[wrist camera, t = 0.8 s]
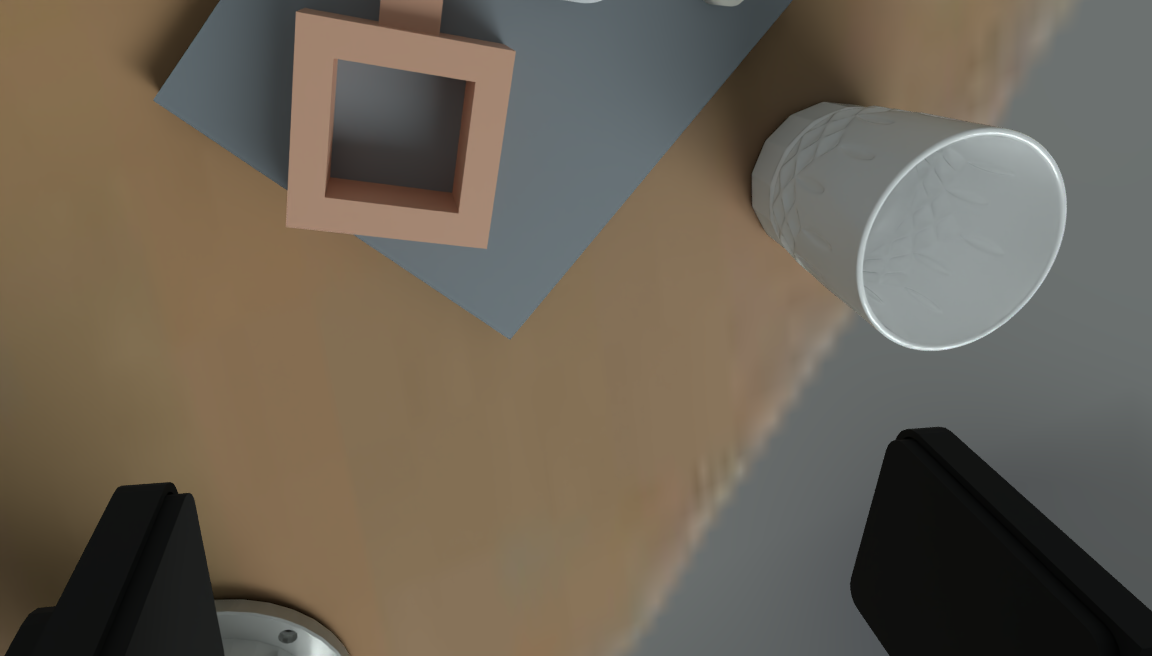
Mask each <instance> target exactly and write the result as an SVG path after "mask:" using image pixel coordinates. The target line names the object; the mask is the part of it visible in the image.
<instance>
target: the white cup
mask: <svg viewBox="0 0 1152 656" xmlns="http://www.w3.org/2000/svg"><path fill="white" fill-rule="evenodd" d="M752 207H753V209H754V211H755V213H756V215H757V217H758V219H759V221H760V223H761V225H762V226H763V228H764V230H765V232H766V234H767V235H769V236H770V237H771V238H772V239H774V240H775V241H776V242H777V243H779V244H780V245H781V246H782V247H784V248H785V249H786V250H787V251H788V252H789V253H790V255H791V256H792V257H793V258H794V259H795V260H796V261H797V262H798V263H799V264H800V265H801V266H802V267H803V268H804V269H806V270H807V271H808V272H809V273H810V274H812V275H813V276H814V277H815V278H816V279H817V280H818V281H819V282H820V283H821V284H822V285H823V286H825V287H826V288H827V289H828V290H829V291H831V292H832V293H833V294H834V295H835V296H837V297H838V298H839V299H840V300H842V301H843V302H844V303H845V304H846V305H848V306H849V307H850V308H851V309H853V310H854V311H855V312H856V313H857V314H859V315H860V316H861V317H862V318H863V319H865V320H866V321H867V322H868V323H869V324H871V325H872V326H873V327H874V328H876V329H877V330H878V331H879V332H880V333H881V334H883V335H884V336H885V337H887V338H888V339H890V340H891V341H893V342H895V343H897V344H899V345H901V346H904V347H907V348H911V349H916V350H924V351H937V350H946V349H951V348H956V347H960V346H963V345H966V344H969V343H971V342H973V341H975V340H978V339H980V338H982V337H984V336H986V335H987V334H989V333H991V332H993V331H994V330H996V329H997V328H999V327H1000V326H1002V325H1003V324H1004V323H1006V322H1007V321H1008V320H1009V319H1010V318H1012V317H1013V316H1014V315H1015V314H1016V313H1017V312H1018V311H1019V310H1020V309H1021V308H1022V307H1023V306H1024V305H1025V304H1026V303H1027V302H1028V301H1029V300H1030V298H1031V297H1032V296H1033V295H1034V294H1035V292H1036V291H1037V290H1038V288H1039V287H1040V285H1041V284H1042V282H1043V281H1044V279H1045V277H1046V276H1047V274H1048V272H1049V271H1050V269H1051V267H1052V264H1053V263H1054V260H1055V258H1056V256H1057V253H1058V251H1059V248H1060V245H1061V242H1062V238H1063V234H1064V229H1065V224H1066V215H1067V199H1066V191H1065V185H1064V181H1063V178H1062V175H1061V172H1060V170H1059V168H1058V166H1057V164H1056V162H1055V160H1054V159H1053V157H1052V156H1051V155H1050V153H1049V152H1048V151H1047V150H1046V149H1045V148H1044V147H1043V146H1042V145H1041V144H1040V143H1038V142H1037V141H1036V140H1034V139H1033V138H1031V137H1029V136H1028V135H1025V134H1023V133H1020V132H1018V131H1015V130H1011V129H1006V128H1001V127H995V126H990V125H984V124H979V123H973V122H968V121H963V120H958V119H953V118H947V117H942V116H937V115H932V114H927V113H921V112H911V111H905V110H900V109H891V108H885V107H879V106H869V107H865V106H860V105H854V104H843V103H833V102H821V103H818V104H816V105H814V106H811V107H809V108H806V109H804V110H801V111H799V112H796V113H794V114H792V115H790V116H789V117H788V118H787V119H786V120H785V121H784V122H783V123H782V124H781V125H780V126H779V127H778V128H777V129H776V130H775V131H774V132H773V133H772V135H771V136H770V137H769V138H768V139H767V140H766V141H765V143H764V145H763V148H762V150H761V153H760V155H759V157H758V160H757V162H756V165H755V167H754V169H753V172H752Z"/></svg>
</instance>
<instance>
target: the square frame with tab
mask: <svg viewBox="0 0 1152 656" xmlns="http://www.w3.org/2000/svg"><path fill="white" fill-rule="evenodd" d="M442 6H443V0H381V2H380V14H379V21H374V20H369V19H363V18H358V17H352V16H347V15H341V14H336V13H330V12H325V11H319V10H314V9H308V8H303V9H301V10H299V11H296V22H295V43H294V65H293V86H292V108H291V129H290V151H289V172H288V194H287V216H286V227H291V228H300V229H309V230H319V231H328V232H337V233H346V234H355V235H364V236H373V237H382V238H391V239H401V240H410V241H419V242H428V243H437V244H446V245H455V246H464V247H474V248H483V249H487V245H488V238H489V231H490V225H491V218H492V211H493V204H494V197H495V191H496V184H497V177H498V170H499V163H500V156H501V150H502V143H503V136H504V129H505V122H506V116H507V109H508V102H509V95H510V88H511V81H512V75H513V68H514V61H515V54H516V51H515V50H513V49H511V48H510V47H508V46H506V45H505V44H501V43H495V42H490V41H484V40H479V39H473V38H468V37H462V36H457V35H451V34H446V33H440V24H441V15H442ZM338 59H340V60H346V61H352V62H358V63H364V64H370V65H376V66H382V67H388V68H394V69H400V70H406V71H412V72H418V73H424V74H430V75H436V76H442V77H448V78H454V79H460V80H466V87H465V95H464V103H463V111H462V119H461V127H460V135H459V143H458V151H457V159H456V167H455V175H454V182H453V190H452V193H450V192H442V191H434V190H426V189H418V188H411V187H403V186H395V185H387V184H379V183H371V182H364V181H356V180H348V179H340V178H332V177H330V171H331V156H332V141H333V126H334V110H335V95H336V80H337V65H338Z"/></svg>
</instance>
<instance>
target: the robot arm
mask: <svg viewBox="0 0 1152 656" xmlns="http://www.w3.org/2000/svg"><path fill="white" fill-rule="evenodd" d="M850 588H851V589H850V590H851V595H852V598H853V601H854V603H855V605H856V607H857V609H858V610H859V612H860V613H861V615H862V616H863V618H864V619H865V620H866V622H867V623H868V625H869V626H870V628H871V629H872V631H873V632H874V634H875V635H876V636H877V638H878V640H879V641H880V642H881V644H882V645H883V647H884V648H885V650H886V651H887V653H888V654H889V656H1152V611H1151V610H1150V609H1149V608H1147V607H1146V606H1145V605H1144V604H1143V603H1142V602H1141V601H1139V600H1138V599H1137V598H1136V597H1135V596H1134V595H1133V594H1132V593H1131V592H1130V591H1128V590H1127V589H1126V588H1125V587H1124V586H1123V585H1122V584H1121V583H1120V582H1118V581H1117V580H1116V579H1115V578H1114V577H1113V576H1112V575H1110V574H1109V573H1108V572H1107V571H1106V570H1105V569H1104V568H1103V567H1102V566H1101V565H1099V564H1098V563H1097V562H1096V561H1095V560H1094V559H1093V558H1091V556H1089V555H1088V554H1087V553H1086V552H1085V551H1084V550H1083V549H1082V548H1080V547H1079V546H1078V545H1077V544H1076V543H1075V542H1074V541H1073V540H1072V539H1070V538H1069V537H1068V536H1067V535H1066V534H1065V533H1064V532H1063V531H1062V530H1060V529H1059V528H1058V527H1057V526H1056V525H1055V524H1054V523H1053V522H1051V521H1050V520H1049V519H1048V518H1047V517H1046V516H1045V515H1044V514H1043V513H1041V512H1040V511H1039V510H1038V509H1037V508H1036V507H1035V506H1033V505H1032V504H1031V503H1030V502H1029V501H1028V500H1027V499H1026V498H1025V497H1023V496H1022V495H1021V494H1020V493H1019V492H1018V491H1017V490H1016V489H1015V488H1014V487H1012V486H1011V485H1010V484H1009V483H1008V482H1007V481H1006V480H1005V479H1003V478H1002V477H1001V476H1000V475H999V474H998V473H997V472H996V471H995V470H993V469H992V468H991V467H990V466H989V465H988V464H987V463H986V462H985V461H983V460H982V459H981V458H980V457H979V456H978V455H977V454H976V453H974V452H973V451H972V450H971V449H970V448H969V447H968V446H967V445H966V444H964V443H963V442H962V441H961V440H960V439H959V438H958V437H957V436H956V435H954V434H953V433H952V432H951V431H949V430H948V429H946V428H943V427H932V428H931V427H930V428H918V429H906V430H903V431H901V432H900V433H899V435H898V436H897V438H896V440H894V441H892V442H891V443H890V444H889V445H888V447H887V449H886V453H885V456H884V460H883V464H882V467H881V471H880V475H879V478H878V482H877V486H876V489H875V493H874V496H873V500H872V504H871V507H870V511H869V515H868V518H867V522H866V526H865V529H864V533H863V537H862V540H861V544H860V548H859V551H858V555H857V559H856V562H855V566H854V570H853V573H852V577H851V582H850ZM5 656H350V655H349V654H348V652H347V650H346V648H345V646H344V645H343V644H342V643H341V642H340V641H339V640H338V638H337V637H336V636H335V635H334V634H333V633H332V632H331V631H330V630H328V629H327V628H325V627H324V626H323V625H321V624H320V623H319V622H317V621H316V620H314V619H312V618H310V617H308V616H306V615H304V614H302V613H300V612H298V611H295V610H293V609H290V608H286V607H283V606H279V605H276V604H272V603H267V602H260V601H252V600H244V599H238V600H214V597H213V592H212V587H211V582H210V577H209V572H208V566H207V561H206V556H205V551H204V546H203V541H202V536H201V531H200V526H199V521H198V515H197V510H196V505H195V501H194V498H193V496H192V494H190V493H183V494H178V492H177V489H176V487H175V485H174V484H173V483H171V482H167V483H153V484H139V485H126V486H120V487H118V488H117V489H116V491H115V492H114V494H113V496H112V498H111V499H110V501H109V503H108V505H107V507H106V509H105V511H104V513H103V515H102V517H101V519H100V521H99V523H98V525H97V527H96V529H95V531H94V533H93V535H92V537H91V539H90V540H89V542H88V544H87V546H86V548H85V550H84V552H83V554H82V556H81V558H80V560H79V562H78V564H77V566H76V568H75V570H74V572H73V574H72V576H71V578H70V580H69V581H68V583H67V585H66V587H65V589H64V591H63V593H62V595H61V597H60V599H59V601H58V603H57V605H56V606H54V607H44V608H37V609H36V610H35V611H33V612H32V613H30V614H29V615H28V617H27V618H26V620H25V621H24V622H23V624H22V625H21V627H20V629H19V630H18V632H17V634H16V636H15V638H14V640H13V641H12V643H11V645H10V647H9V649H8V650H7V652H6V654H5Z"/></svg>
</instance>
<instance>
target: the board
mask: <svg viewBox="0 0 1152 656" xmlns="http://www.w3.org/2000/svg"><path fill="white" fill-rule="evenodd" d="M791 1H792V0H443V6H442V15H441V24H440V33H446V34H451V35H457V36H462V37H468V38H473V39H479V40H484V41H490V42H495V43H501V44H505V45H506V46H508V47H510V48H511V49H513V50H515V51H516V54H515V61H514V68H513V75H512V81H511V88H510V95H509V102H508V109H507V116H506V122H505V129H504V136H503V143H502V150H501V156H500V163H499V170H498V177H497V184H496V191H495V197H494V204H493V211H492V218H491V225H490V231H489V238H488V245H487V249H483V248H474V247H464V246H455V245H446V244H437V243H428V242H419V241H410V240H401V239H391V238H382V237H373V236H364V235H355V234H353V235H355V236H356V237H358V238H359V239H361V240H362V241H364V242H365V243H367V244H368V245H370V246H371V247H373V248H374V249H376V250H377V251H379V252H380V253H382V254H383V255H385V256H386V257H388V258H389V259H391V260H392V261H394V262H395V263H397V264H398V265H399V266H401V267H402V268H404V269H405V270H407V271H408V272H410V273H411V274H413V275H414V276H416V277H417V278H419V279H420V280H422V281H423V282H425V283H426V284H428V285H429V286H431V287H432V288H434V289H435V290H437V291H438V292H440V293H441V294H443V295H444V296H446V297H447V298H449V299H450V300H452V301H453V302H455V303H456V304H458V305H459V306H461V307H462V308H464V309H465V310H467V311H468V312H470V313H471V314H473V315H474V316H476V317H477V318H479V319H480V320H482V321H483V322H485V323H486V324H487V325H489V326H490V327H492V328H493V329H495V330H496V331H498V332H499V333H501V334H502V335H504V336H505V337H507V338H508V339H511V338H512V337H513V335H514V334H515V333H516V332H517V331H518V329H519V328H520V327H521V326H522V325H523V323H524V322H525V321H526V320H527V319H528V317H529V316H530V315H531V314H532V313H533V311H534V310H535V309H536V308H537V307H538V305H539V304H540V303H541V302H542V301H543V299H544V298H545V297H546V296H547V295H548V293H549V292H550V291H551V290H552V289H553V287H554V286H555V285H556V284H557V283H558V281H559V280H560V279H561V278H562V277H563V275H564V274H565V273H566V272H567V271H568V269H569V268H570V267H571V266H572V265H573V263H574V262H575V261H576V260H577V259H578V257H579V256H580V255H581V254H582V253H583V251H584V250H585V249H586V248H587V247H588V245H589V244H590V243H591V242H592V241H593V239H594V238H595V237H596V236H597V235H598V233H599V232H600V231H601V230H602V229H603V227H604V226H605V225H606V224H607V223H608V221H609V220H610V219H611V218H612V217H613V215H614V214H615V213H616V212H617V210H618V209H619V208H620V207H621V206H622V204H623V203H624V202H625V201H626V200H627V198H628V197H629V196H630V195H631V194H632V192H633V191H634V190H635V189H636V188H637V186H638V185H639V184H640V183H641V182H642V180H643V179H644V178H645V177H646V176H647V174H648V173H649V172H650V171H651V170H652V168H653V167H654V166H655V165H656V164H657V162H658V161H659V160H660V159H661V158H662V156H663V155H664V154H665V153H666V152H667V150H668V149H669V148H670V147H671V146H672V144H673V143H674V142H675V141H676V140H677V138H678V137H679V136H680V135H681V134H682V132H683V131H684V130H685V129H686V128H687V126H688V125H689V124H690V123H691V122H692V120H693V119H694V118H695V117H696V116H697V114H698V113H699V112H700V111H701V110H702V108H703V107H704V106H705V105H706V104H707V102H708V101H709V100H710V99H711V98H712V96H713V95H714V94H715V93H716V92H717V90H718V89H719V88H720V87H721V86H722V84H723V83H724V82H725V81H726V80H727V78H728V77H729V76H730V75H731V74H732V72H733V71H734V70H735V69H736V68H737V66H738V65H739V64H740V63H741V62H742V60H743V59H744V58H745V57H746V56H747V54H748V53H749V52H750V51H751V50H752V48H753V47H754V46H755V45H756V44H757V42H758V41H759V40H760V39H761V38H762V36H763V35H764V34H765V33H766V32H767V30H768V29H769V28H770V27H771V26H772V24H773V23H774V22H775V21H776V19H777V18H778V17H779V16H780V15H781V13H782V12H783V11H784V10H785V9H786V7H787V6H788V5H789V4H790V3H791ZM380 2H381V0H220V1H219V3H218V4H217V6H216V7H215V9H214V10H213V12H212V13H211V15H210V16H209V18H208V19H207V21H206V22H205V24H204V25H203V27H202V28H201V30H200V31H199V33H198V34H197V36H196V37H195V39H194V40H193V42H192V43H191V45H190V46H189V48H188V49H187V51H186V52H185V54H184V55H183V56H182V58H181V59H180V61H179V62H178V64H177V65H176V67H175V68H174V70H173V71H172V73H171V74H170V76H169V77H168V79H167V80H166V82H165V83H164V85H163V86H162V88H161V89H160V91H159V92H158V94H157V95H156V97H155V98H154V100H153V101H155V102H156V103H158V104H159V105H161V106H162V107H164V108H165V109H167V110H168V111H170V112H171V113H173V114H174V115H176V116H177V117H179V118H180V119H182V120H183V121H185V122H186V123H188V124H189V125H191V126H192V127H194V128H195V129H197V130H198V131H200V132H201V133H203V134H204V135H206V136H207V137H209V138H210V139H212V140H213V141H215V142H216V143H218V144H219V145H221V146H222V147H224V148H225V149H227V150H228V151H229V152H231V153H232V154H234V155H235V156H237V157H238V158H240V159H241V160H243V161H244V162H246V163H247V164H249V165H250V166H252V167H253V168H255V169H256V170H258V171H259V172H261V173H262V174H264V175H265V176H267V177H268V178H270V179H271V180H273V181H274V182H276V183H277V184H279V185H280V186H282V187H283V188H285V189H286V190H288V172H289V151H290V129H291V108H292V86H293V65H294V43H295V22H296V11H299V10H301V9H303V8H308V9H314V10H319V11H325V12H330V13H336V14H341V15H347V16H352V17H358V18H363V19H369V20H374V21H379V14H380ZM465 87H466V80H460V79H454V78H448V77H442V76H436V75H430V74H424V73H418V72H412V71H406V70H400V69H394V68H388V67H382V66H376V65H370V64H364V63H358V62H352V61H346V60H340V59H338V65H337V80H336V95H335V110H334V126H333V141H332V156H331V171H330V177H332V178H340V179H348V180H356V181H364V182H371V183H379V184H387V185H395V186H403V187H411V188H418V189H426V190H434V191H442V192H450V193H452V190H453V182H454V175H455V167H456V159H457V151H458V143H459V135H460V127H461V119H462V111H463V103H464V95H465Z"/></svg>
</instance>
